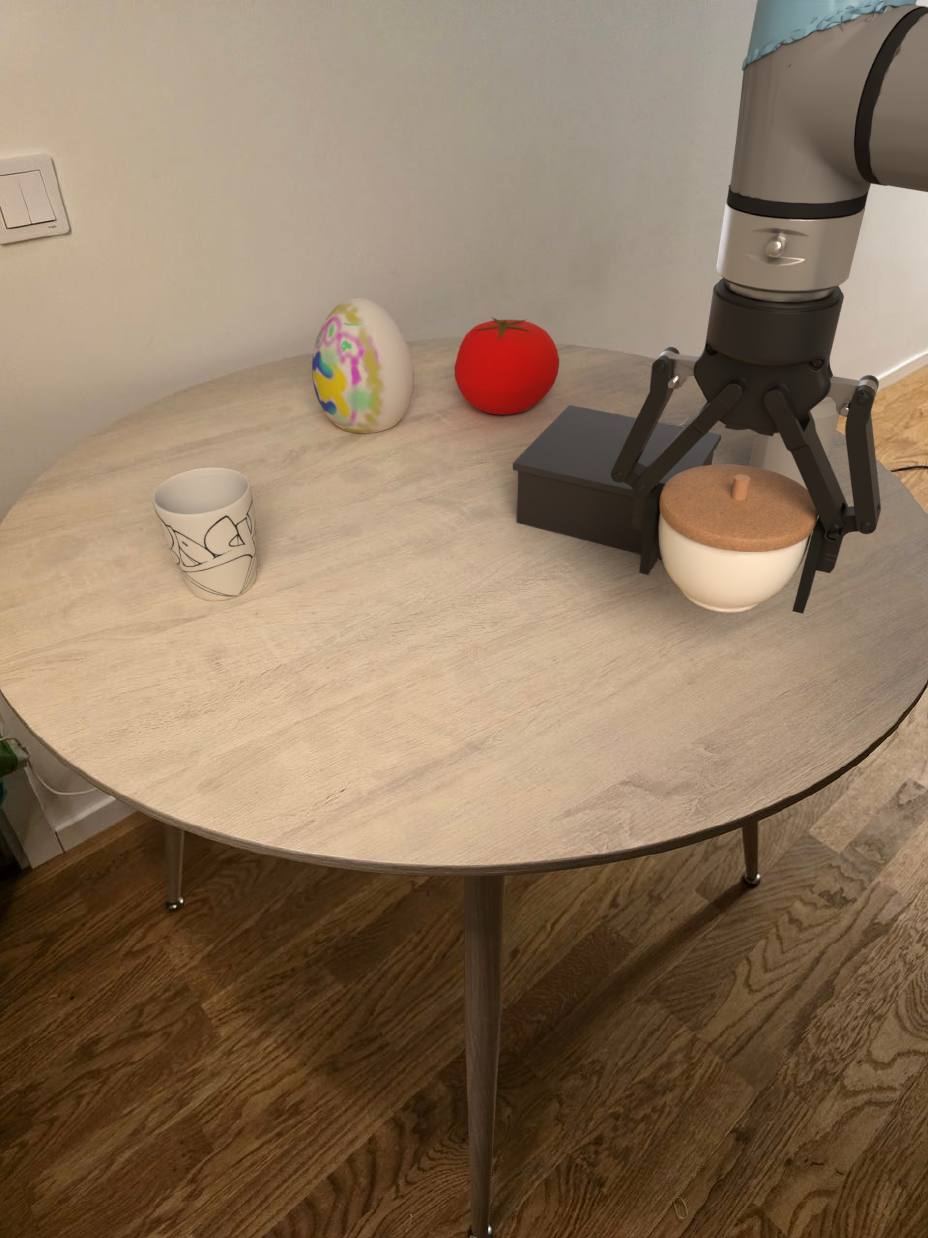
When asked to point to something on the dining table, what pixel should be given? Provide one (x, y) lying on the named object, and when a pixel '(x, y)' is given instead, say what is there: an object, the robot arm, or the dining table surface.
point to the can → (780, 460)
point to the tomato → (506, 366)
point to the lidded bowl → (733, 533)
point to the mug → (210, 530)
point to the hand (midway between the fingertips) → (722, 583)
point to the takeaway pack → (591, 476)
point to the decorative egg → (362, 368)
